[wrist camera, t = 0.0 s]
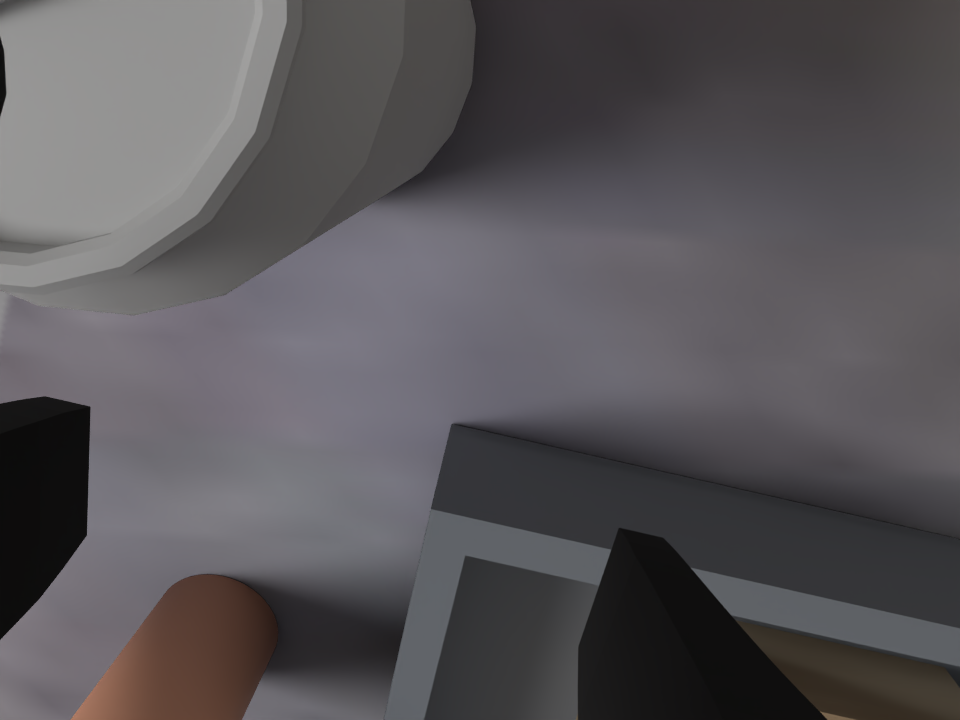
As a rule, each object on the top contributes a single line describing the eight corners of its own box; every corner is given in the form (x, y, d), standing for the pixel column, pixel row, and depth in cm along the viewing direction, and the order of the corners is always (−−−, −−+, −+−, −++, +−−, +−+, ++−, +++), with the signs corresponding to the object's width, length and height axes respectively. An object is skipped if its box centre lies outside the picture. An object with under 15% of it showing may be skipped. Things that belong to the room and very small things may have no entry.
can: (110, -50, 16) (-799, -387, 5) (399, -206, 15) (17, -1126, 4) (261, 246, 19) (-148, 463, 7) (525, 134, 17) (520, 190, 6)
